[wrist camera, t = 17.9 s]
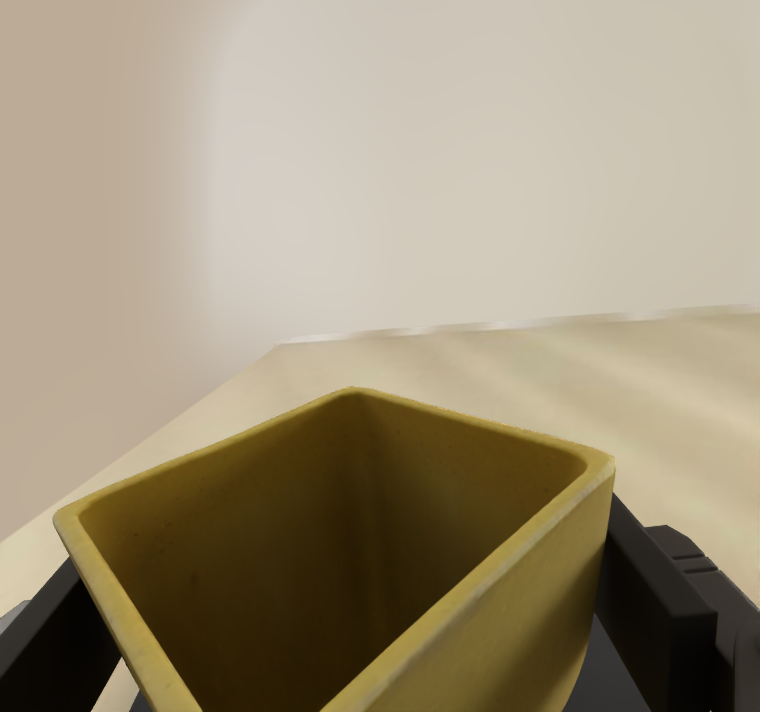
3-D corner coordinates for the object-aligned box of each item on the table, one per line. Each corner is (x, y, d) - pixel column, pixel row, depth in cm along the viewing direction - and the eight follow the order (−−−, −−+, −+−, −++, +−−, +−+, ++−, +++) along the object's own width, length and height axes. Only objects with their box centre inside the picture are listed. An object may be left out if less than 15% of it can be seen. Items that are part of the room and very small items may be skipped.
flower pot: (354, 1275, 7) (221, 832, 5) (146, 798, 13) (44, 505, 11) (621, 775, 13) (626, 452, 10) (384, 605, 19) (352, 382, 16)
